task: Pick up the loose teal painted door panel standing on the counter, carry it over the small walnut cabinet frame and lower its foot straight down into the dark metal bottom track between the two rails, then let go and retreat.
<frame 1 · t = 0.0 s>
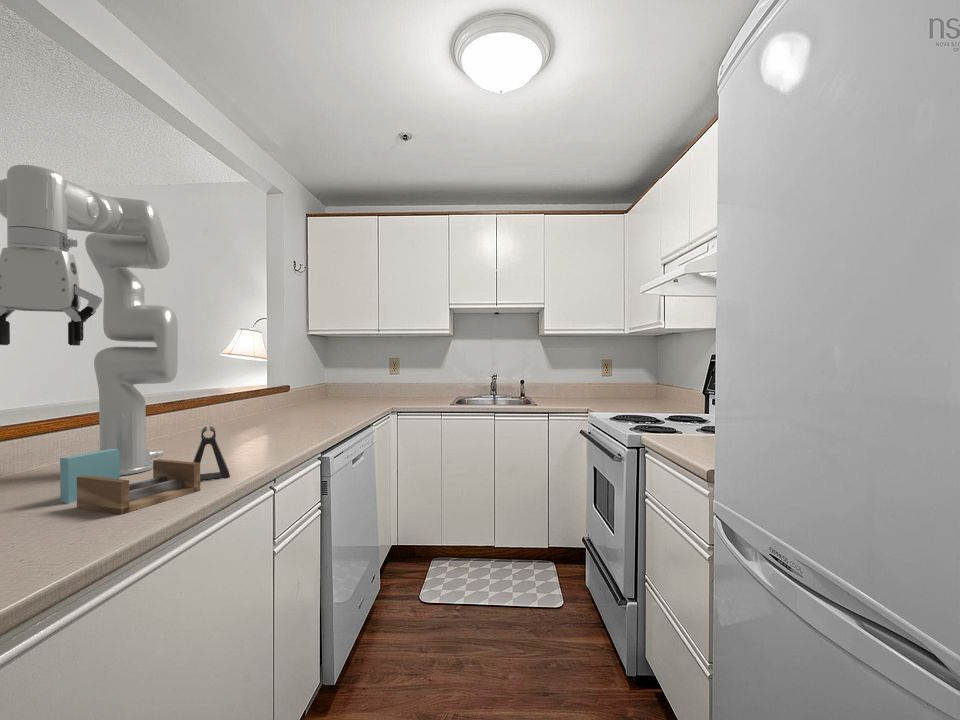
hand: (39, 345, 82), 31 cm above the worktop, tool pointing down, fingers open, 9 cm apart
door panel: (91, 496, 102), on the worktop
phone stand: (208, 478, 118), on the worktop
cabinet track: (142, 498, 101), on the worktop
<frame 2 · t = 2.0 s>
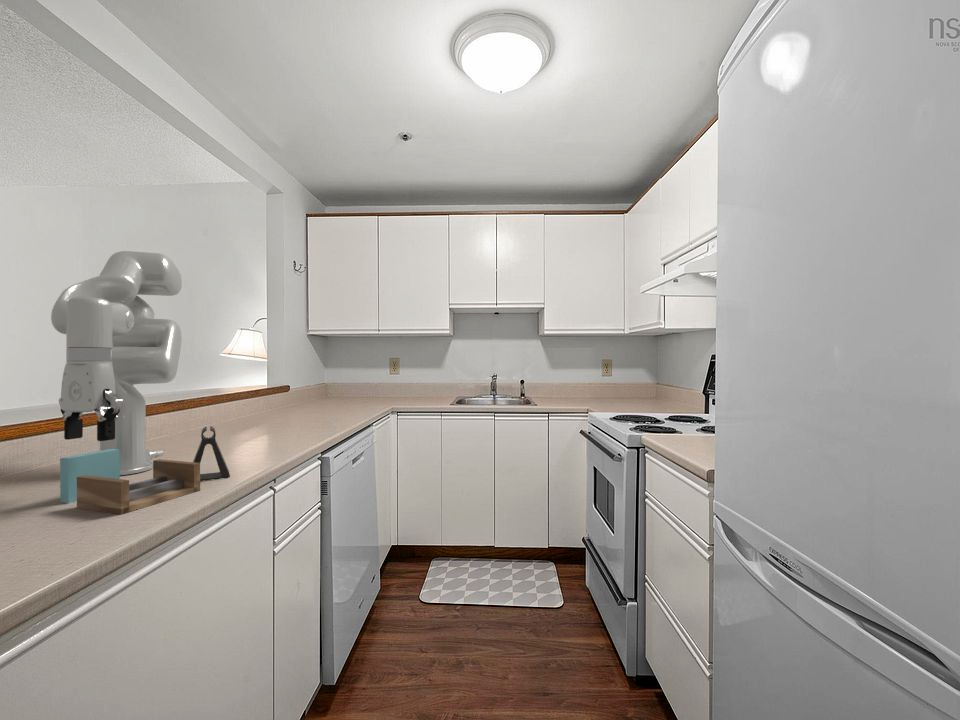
hand: (89, 439, 102), 12 cm above the worktop, tool pointing down, fingers open, 9 cm apart
nothing on the worktop moved.
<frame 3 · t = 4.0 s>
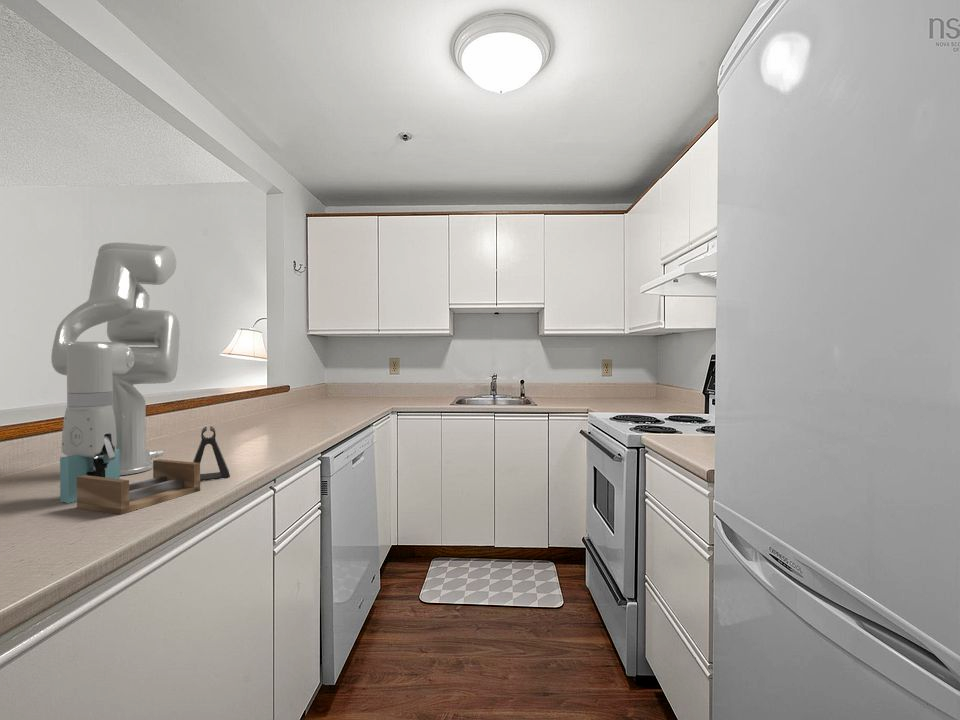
hand: (91, 488, 102), 2 cm above the worktop, tool pointing down, fingers closed on door panel, 2 cm apart
door panel: (91, 496, 102), on the worktop, touching gripper
everything else where it was.
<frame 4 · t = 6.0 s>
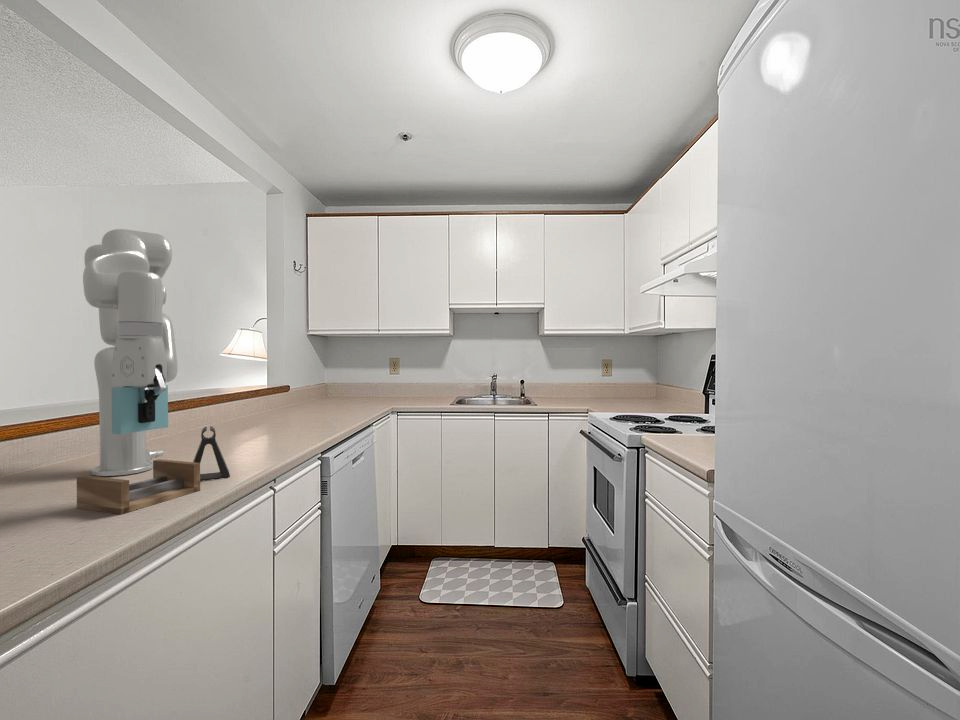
hand: (141, 421, 100), 16 cm above the worktop, tool pointing down, fingers closed on door panel, 2 cm apart
door panel: (141, 430, 100), point 14 cm above the worktop, touching gripper
everything else where it was.
when the fingers open (4 cm above the worktop, at t = 8.2 s): door panel stays where it is, resting on cabinet track.
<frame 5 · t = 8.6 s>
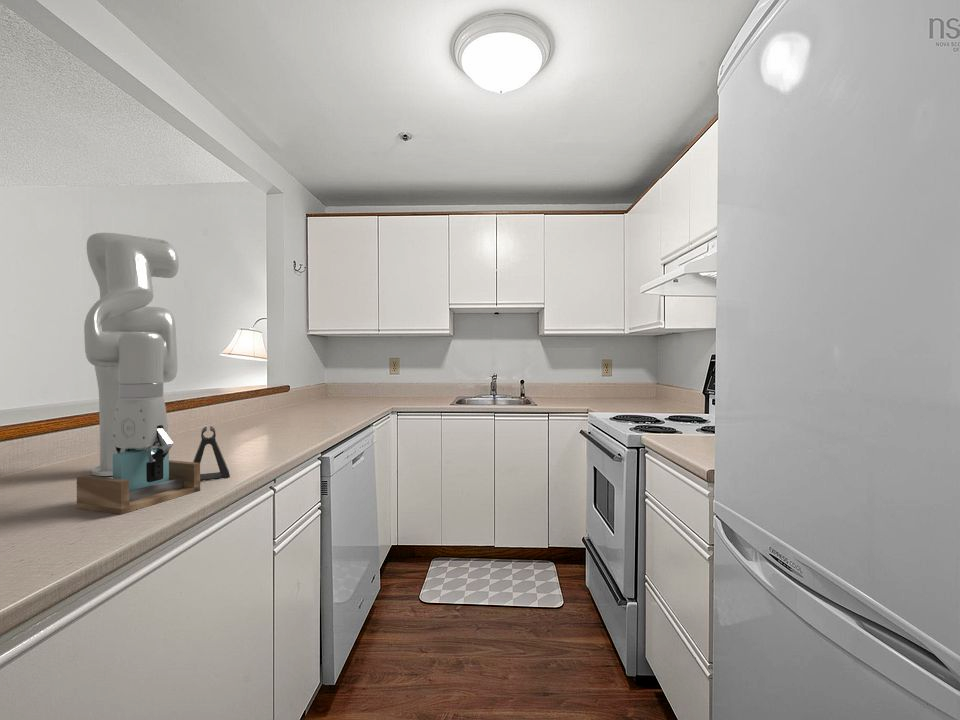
hand: (142, 478, 100), 4 cm above the worktop, tool pointing down, fingers open, 6 cm apart
door panel: (142, 493, 101), point 1 cm above the worktop, touching cabinet track
everything else where it was.
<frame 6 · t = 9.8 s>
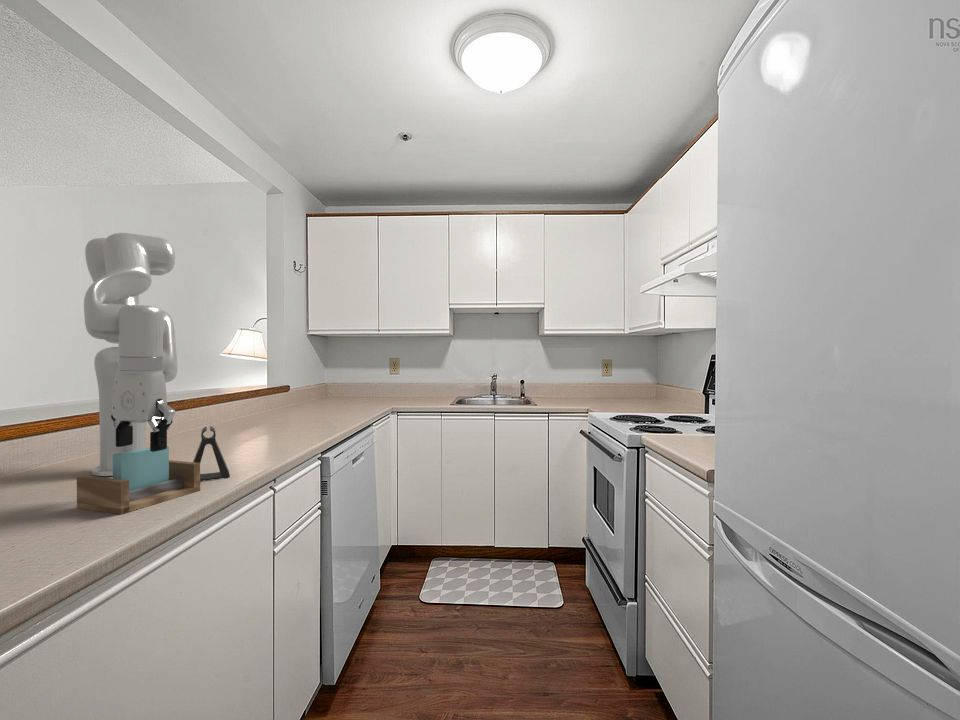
hand: (141, 447, 101), 10 cm above the worktop, tool pointing down, fingers open, 9 cm apart
nothing on the worktop moved.
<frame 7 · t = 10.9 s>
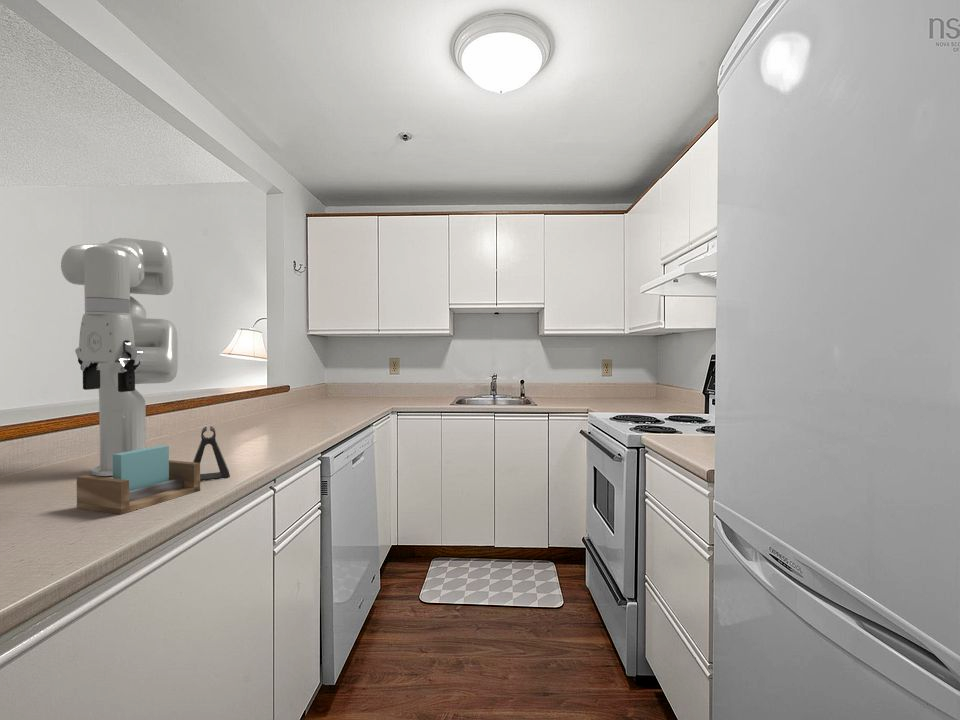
hand: (108, 390, 102), 22 cm above the worktop, tool pointing down, fingers open, 9 cm apart
nothing on the worktop moved.
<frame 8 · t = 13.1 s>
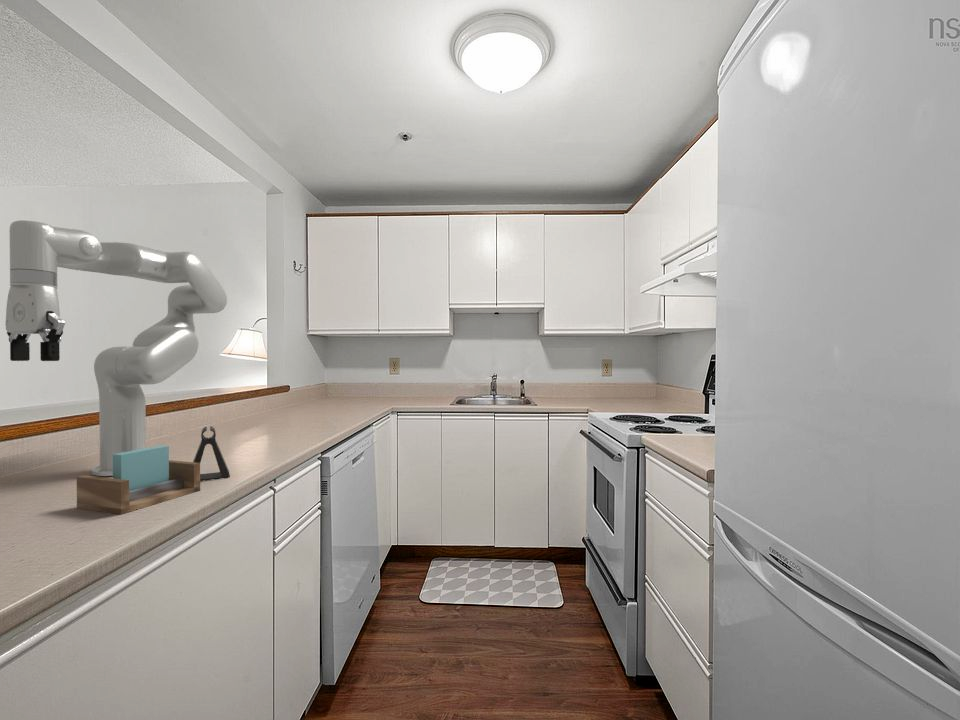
hand: (34, 360, 105), 28 cm above the worktop, tool pointing down, fingers open, 9 cm apart
nothing on the worktop moved.
at the end: door panel 0.1 cm off-centre on the cabinet track, point 1.0 cm above the cabinet track's base; door panel tilted 0°; the gripper is holding nothing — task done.
